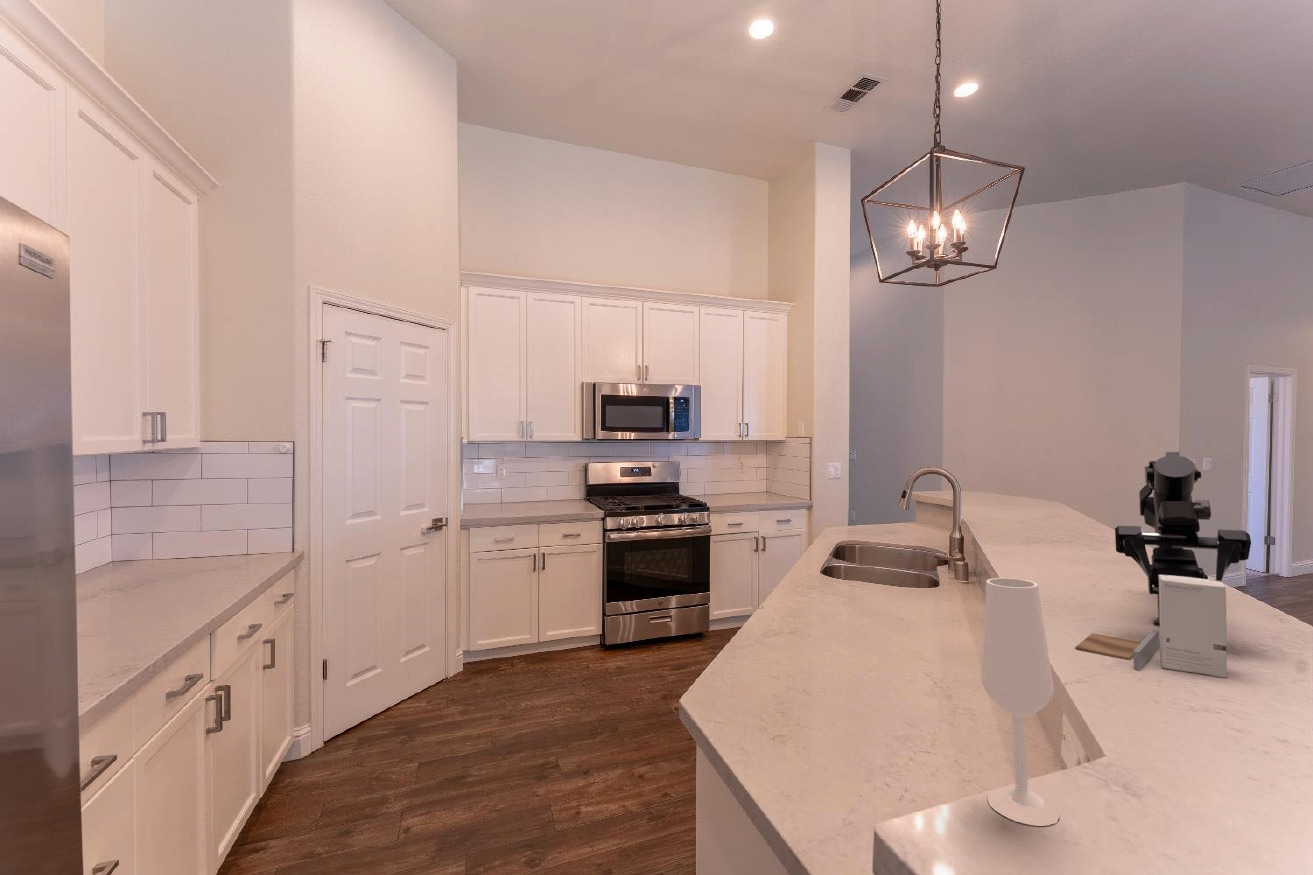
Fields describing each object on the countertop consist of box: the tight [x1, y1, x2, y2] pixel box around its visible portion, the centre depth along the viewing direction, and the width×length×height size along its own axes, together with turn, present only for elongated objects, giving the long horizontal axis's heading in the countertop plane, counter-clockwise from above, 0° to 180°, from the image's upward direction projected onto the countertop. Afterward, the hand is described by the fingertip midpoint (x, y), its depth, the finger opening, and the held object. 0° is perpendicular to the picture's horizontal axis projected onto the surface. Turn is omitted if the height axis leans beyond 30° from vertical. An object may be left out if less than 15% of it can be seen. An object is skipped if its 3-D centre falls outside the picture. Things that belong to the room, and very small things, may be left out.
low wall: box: [1132, 628, 1160, 671], centre depth 104 cm, size 16×1×3 cm, turn 130°
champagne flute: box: [980, 577, 1055, 808], centre depth 64 cm, size 7×7×24 cm
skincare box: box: [1158, 575, 1228, 678], centre depth 98 cm, size 8×6×15 cm
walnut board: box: [1074, 633, 1142, 661], centre depth 109 cm, size 11×8×1 cm
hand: (1183, 580), depth 105 cm, fingers open, 9 cm apart
